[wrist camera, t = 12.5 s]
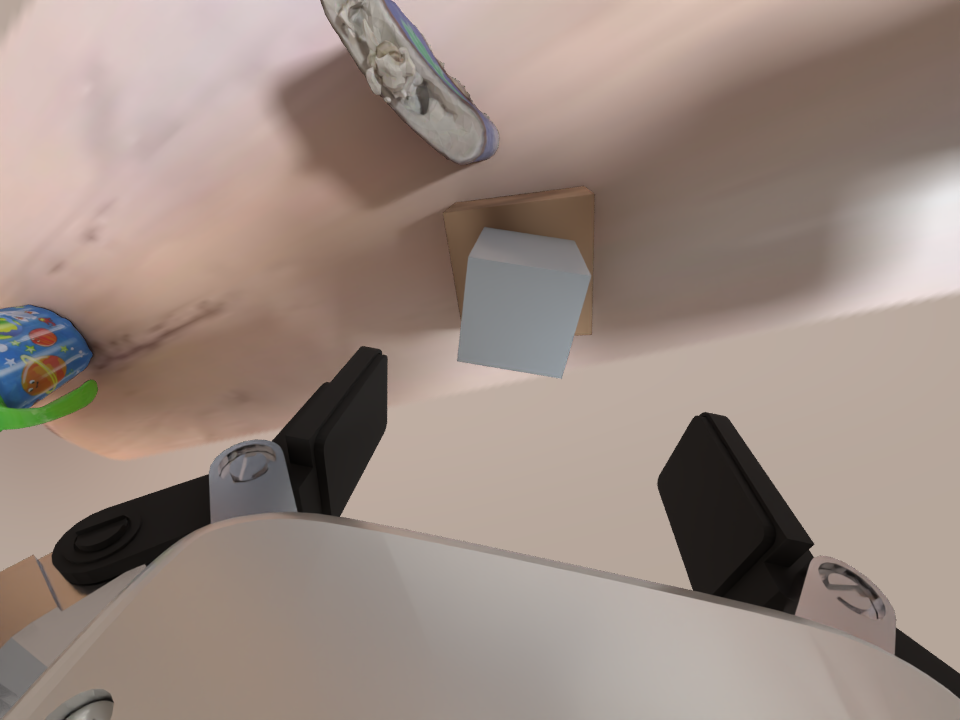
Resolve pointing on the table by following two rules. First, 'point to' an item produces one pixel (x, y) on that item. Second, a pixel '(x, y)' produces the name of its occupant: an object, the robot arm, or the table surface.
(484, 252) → the pale blue cube
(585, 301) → the block
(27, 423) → the snack cup
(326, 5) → the clover trinket box
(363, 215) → the table surface
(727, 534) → the robot arm
